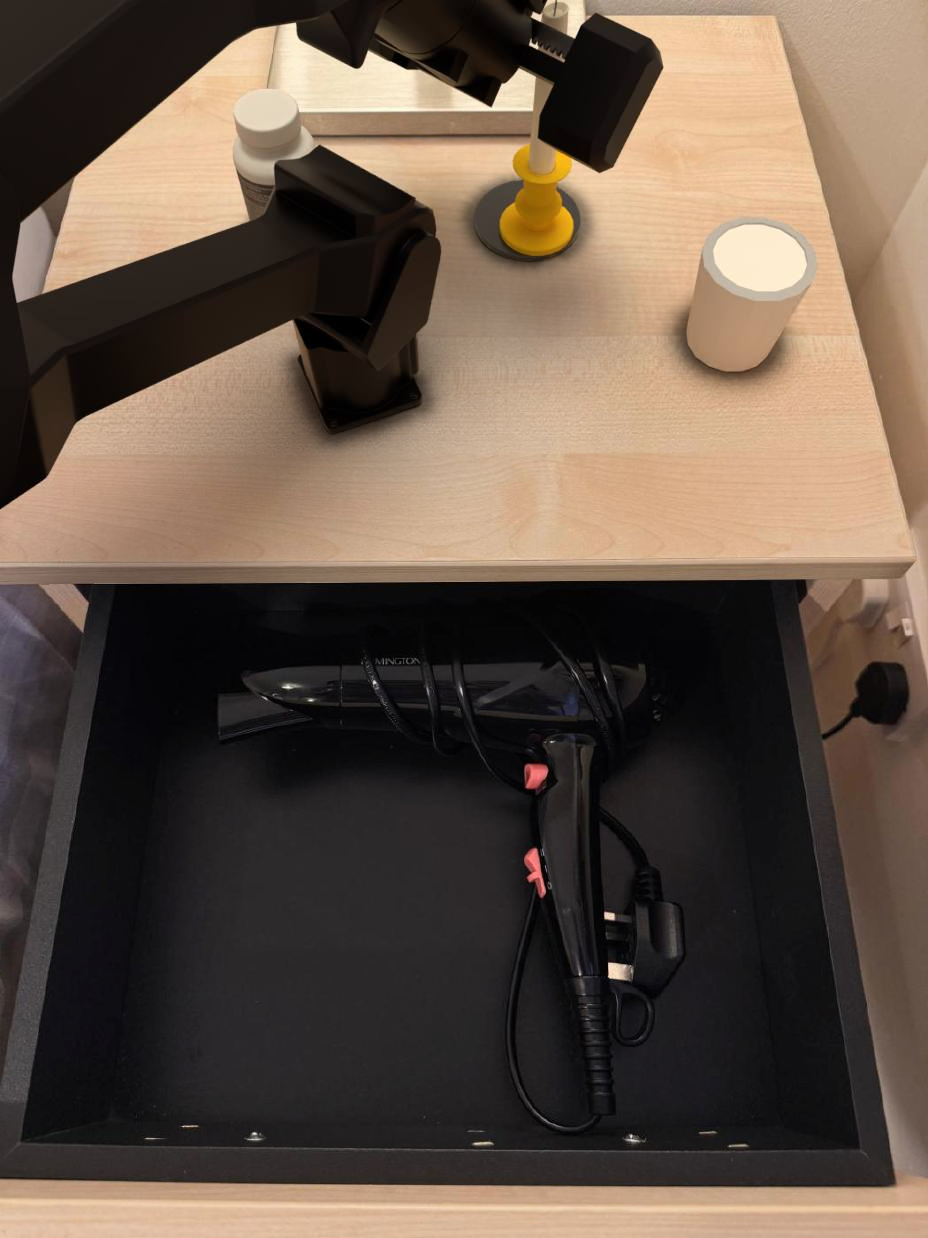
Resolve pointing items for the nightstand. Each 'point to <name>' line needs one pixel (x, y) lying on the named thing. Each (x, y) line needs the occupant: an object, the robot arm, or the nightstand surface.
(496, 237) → the coaster
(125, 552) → the nightstand surface
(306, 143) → the pill bottle
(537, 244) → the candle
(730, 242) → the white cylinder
